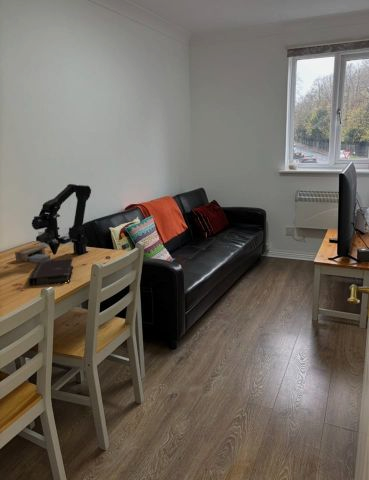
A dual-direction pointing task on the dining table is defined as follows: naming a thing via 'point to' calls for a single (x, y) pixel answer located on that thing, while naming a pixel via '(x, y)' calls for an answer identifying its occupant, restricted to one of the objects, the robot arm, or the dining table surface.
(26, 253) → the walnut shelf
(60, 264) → the diary
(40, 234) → the white cup
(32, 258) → the slate tile
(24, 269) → the dining table surface
